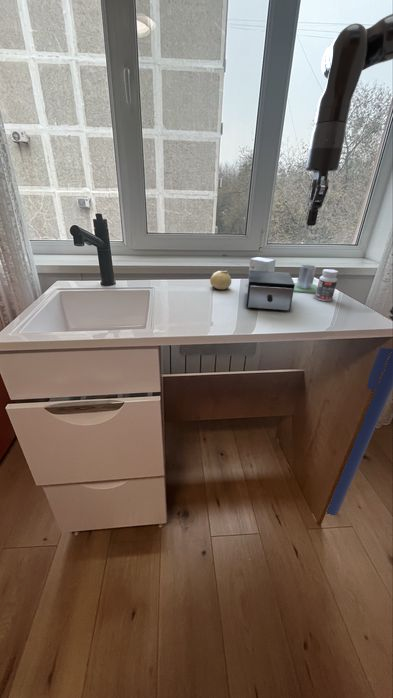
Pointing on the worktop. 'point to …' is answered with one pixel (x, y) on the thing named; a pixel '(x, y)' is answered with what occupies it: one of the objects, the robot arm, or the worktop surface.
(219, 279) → the onion
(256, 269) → the small box
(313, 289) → the drying pad
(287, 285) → the box
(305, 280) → the steel tumbler
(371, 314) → the worktop surface
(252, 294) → the drawer
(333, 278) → the pill bottle
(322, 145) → the robot arm
